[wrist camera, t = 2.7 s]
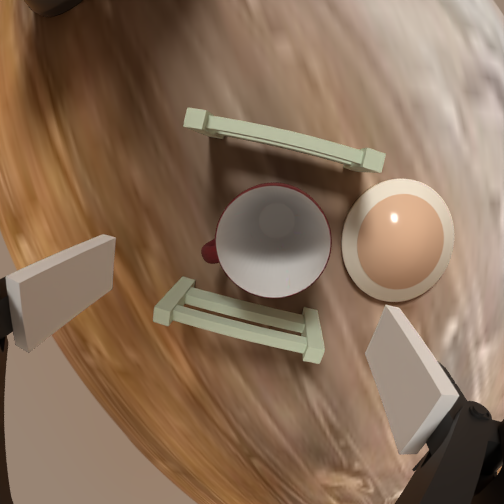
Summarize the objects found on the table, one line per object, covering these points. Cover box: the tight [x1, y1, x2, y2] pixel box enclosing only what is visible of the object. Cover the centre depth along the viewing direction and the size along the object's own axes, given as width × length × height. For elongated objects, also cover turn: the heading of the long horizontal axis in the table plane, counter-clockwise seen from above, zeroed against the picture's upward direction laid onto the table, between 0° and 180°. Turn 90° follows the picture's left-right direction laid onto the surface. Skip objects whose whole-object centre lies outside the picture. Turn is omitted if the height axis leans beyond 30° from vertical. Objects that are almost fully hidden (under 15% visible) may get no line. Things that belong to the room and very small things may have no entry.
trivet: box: [341, 179, 454, 302], centre depth 29 cm, size 13×13×1 cm
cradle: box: [153, 108, 386, 364], centre depth 27 cm, size 15×18×8 cm
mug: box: [201, 183, 332, 298], centre depth 26 cm, size 10×8×10 cm
